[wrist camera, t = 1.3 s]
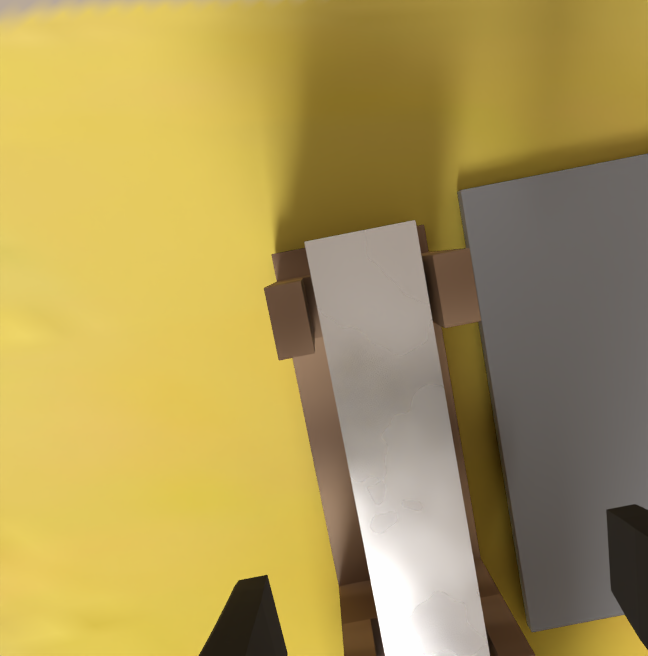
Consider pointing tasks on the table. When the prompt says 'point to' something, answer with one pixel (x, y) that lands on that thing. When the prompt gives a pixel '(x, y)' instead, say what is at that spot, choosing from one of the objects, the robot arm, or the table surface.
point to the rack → (328, 447)
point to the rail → (398, 440)
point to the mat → (565, 369)
